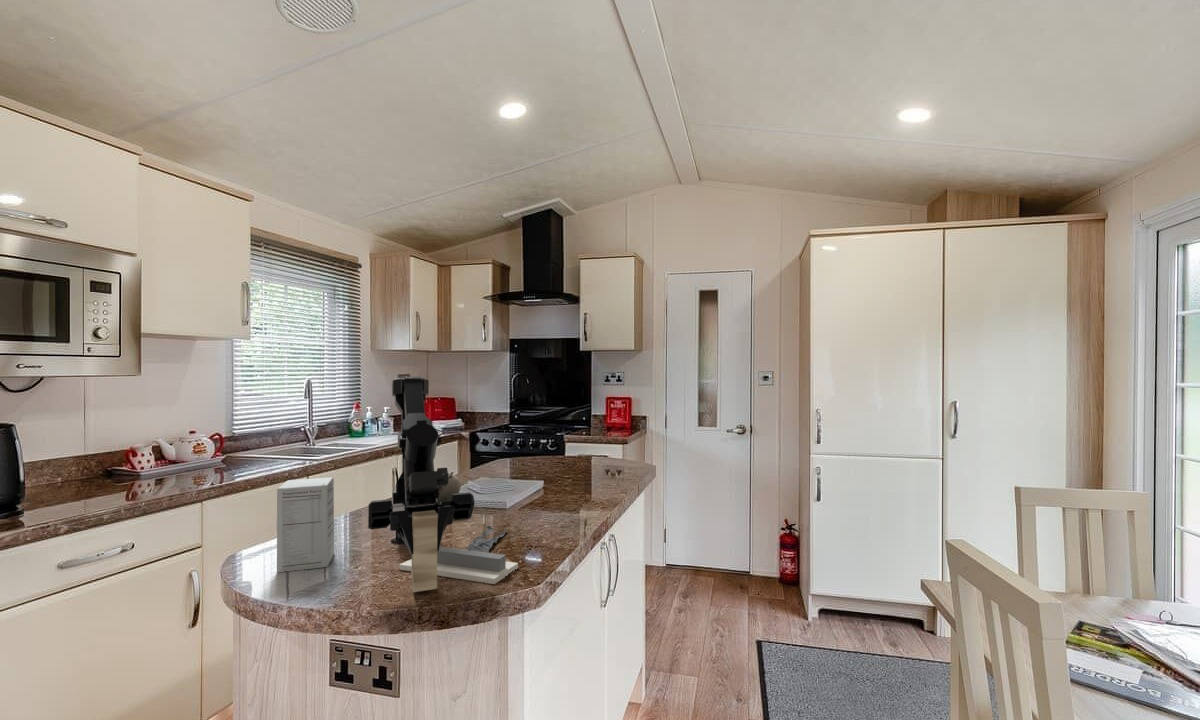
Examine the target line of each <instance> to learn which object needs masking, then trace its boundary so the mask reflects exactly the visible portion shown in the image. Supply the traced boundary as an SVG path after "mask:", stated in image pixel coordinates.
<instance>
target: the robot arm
mask: <svg viewBox="0 0 1200 720" xmlns="http://www.w3.org/2000/svg"><path fill="white" fill-rule="evenodd" d="M429 382H430V381H429V379H425V377H421V376H403V377H397V379H393V380H392V382H391V397H394V406H395V407H396V409H397V410H398V411H399V413H400V414H401V425H400V428H401V429H400V431H399V432H397V449H398V450H400V451H401V474H400V475H399V477H398V479H397V480H396V483H395V489H394V490H392V496H391V498H387V499H377V500H371V501H370V502H369V503H368V516H367V517H368V519H367V523H368V524H367V525H368V527H367V529H368V530H377V529H378V530H379V529H386V528H388V527H389V530H390V531H391V532H395V537H394V538H392V539H390V543H395V544H403V545H405V546H406V548H407V550H408V552H409V554H410V556H412V555H413V539H412V512H421V511H431V510H435V512H436V514H438V516H437V551H439V548H440V547H441V543H442V539H443V535H444V533H445V530H446V528H447V526H448V525H452V524H453V522H454V521H462V520H464V521H465V520H468V519H470V518H472V515H473V511H474V507H475V498H474V495H473V493H471V492H469V491H468V492H459V493H455V494H452V497H451V501H448V502H437V498H439V488H438V487H441V486H447V484H448V473H449V471H448V467H438V468H437V469H436V470H435V463H434V462H435V461H434V460H435V459H436V458H435V457H436V454H437V447H439V445H440V444H442V436H440V435H439V432H438V430H437V429H436V427H435V426H433V421H432V420H431V419H430V418H429V417H427V416H426V408H425V402H426V397H428V396H429V394H430V390H429V388H430V386H429V385H430V384H429Z"/></svg>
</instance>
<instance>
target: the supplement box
mask: <svg viewBox="0 0 1200 720" xmlns="http://www.w3.org/2000/svg"><path fill="white" fill-rule="evenodd" d="M334 482H335V481H334V477H332V476H331V477H315V478H304V479H303V478H300V479H289V480H286V481H285V482H284V483H282V484H281V485H280V486H279V487H278V488H276V489H277V490H276V573H277V572H279V573H285V572H284V571H287V572H294V571H295V570H296V571H303V570H304V569H305V570H311V569H312V570H313V569H319V568H320V569H321V568H328V566H329V565H330V562H331V560H332V558H333V556H334V554H335V514H334V513H335V511H334V510H335V509H334V508H335V502H334V501H335V498H334V497H335V490H334V489H335V488H334V486H335V485H334V484H335V483H334Z"/></svg>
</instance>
